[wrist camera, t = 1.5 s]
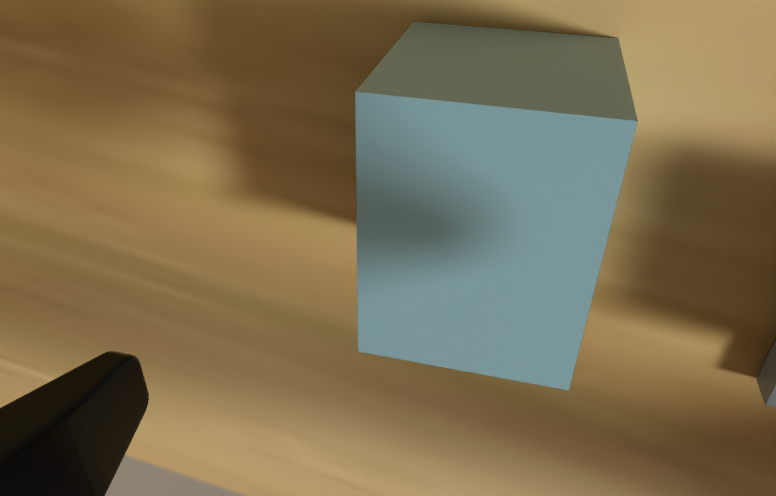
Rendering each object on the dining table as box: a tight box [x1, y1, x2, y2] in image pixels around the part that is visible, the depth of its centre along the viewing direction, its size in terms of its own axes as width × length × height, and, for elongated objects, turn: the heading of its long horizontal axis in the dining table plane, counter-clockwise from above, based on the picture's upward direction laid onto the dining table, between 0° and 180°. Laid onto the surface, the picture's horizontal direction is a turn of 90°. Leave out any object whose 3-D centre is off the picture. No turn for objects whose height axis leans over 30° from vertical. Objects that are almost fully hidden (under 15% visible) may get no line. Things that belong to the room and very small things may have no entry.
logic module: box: [355, 22, 638, 390], centre depth 14 cm, size 6×5×5 cm
